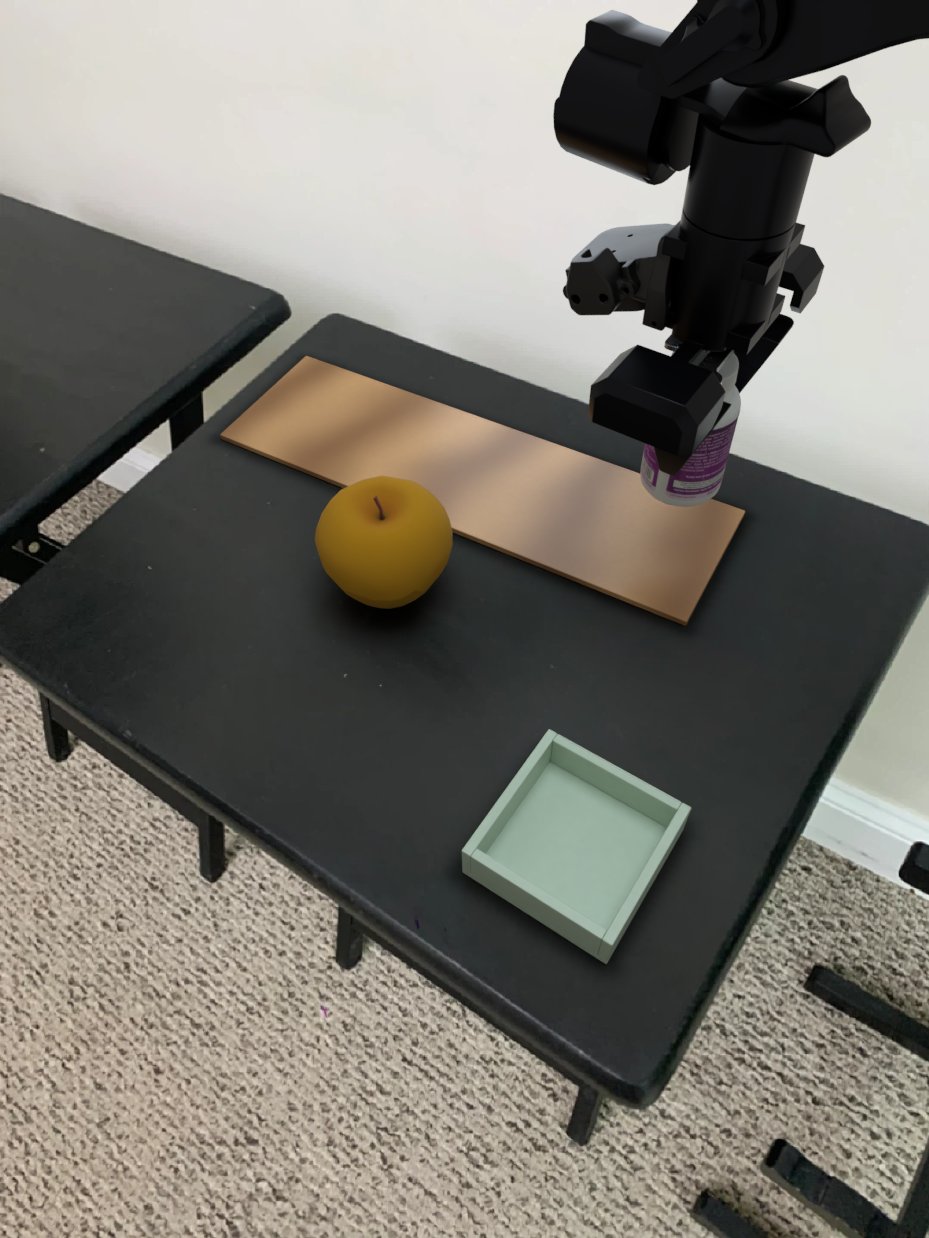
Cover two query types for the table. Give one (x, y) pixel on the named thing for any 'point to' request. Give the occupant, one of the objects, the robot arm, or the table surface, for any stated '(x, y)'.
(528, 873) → the tray
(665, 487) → the pill bottle
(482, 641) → the table surface
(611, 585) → the wooden board
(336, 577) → the apple
